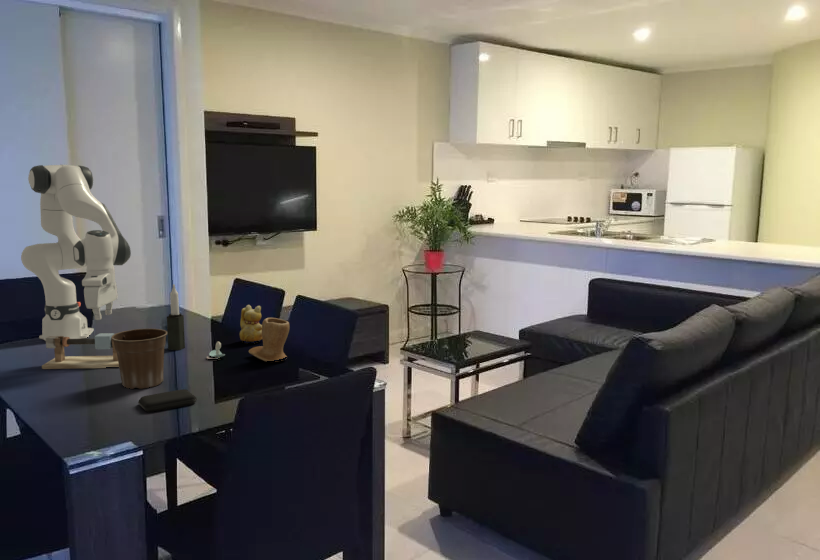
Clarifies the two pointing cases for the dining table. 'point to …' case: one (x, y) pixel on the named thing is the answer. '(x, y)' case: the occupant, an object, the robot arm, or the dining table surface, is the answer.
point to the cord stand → (76, 361)
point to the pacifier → (216, 352)
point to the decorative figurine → (251, 324)
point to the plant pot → (140, 357)
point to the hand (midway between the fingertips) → (103, 317)
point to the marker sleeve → (103, 341)
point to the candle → (175, 324)
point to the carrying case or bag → (167, 400)
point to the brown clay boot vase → (272, 340)
